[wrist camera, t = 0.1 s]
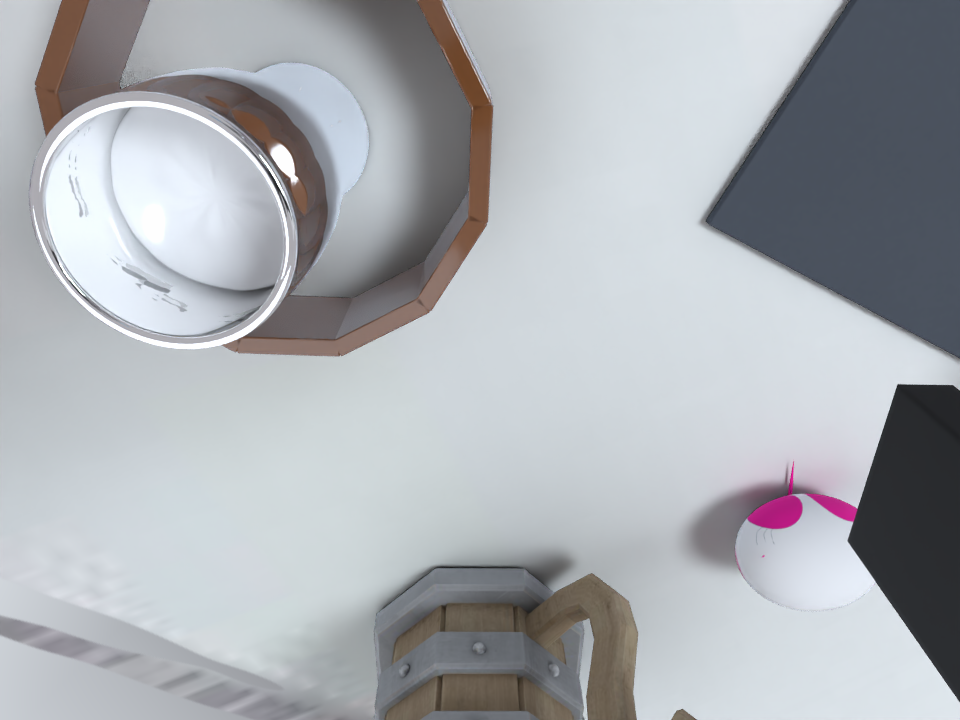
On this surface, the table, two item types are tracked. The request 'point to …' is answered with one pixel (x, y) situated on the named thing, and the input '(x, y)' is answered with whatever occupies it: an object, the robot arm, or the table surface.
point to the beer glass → (196, 197)
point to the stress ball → (802, 553)
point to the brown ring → (298, 319)
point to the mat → (867, 168)
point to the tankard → (504, 649)
